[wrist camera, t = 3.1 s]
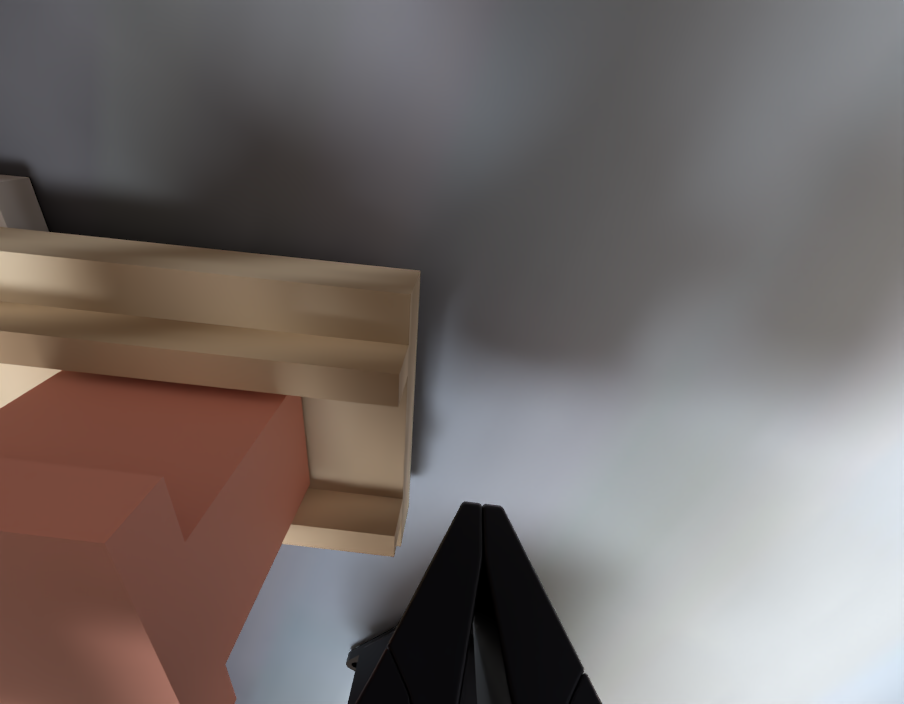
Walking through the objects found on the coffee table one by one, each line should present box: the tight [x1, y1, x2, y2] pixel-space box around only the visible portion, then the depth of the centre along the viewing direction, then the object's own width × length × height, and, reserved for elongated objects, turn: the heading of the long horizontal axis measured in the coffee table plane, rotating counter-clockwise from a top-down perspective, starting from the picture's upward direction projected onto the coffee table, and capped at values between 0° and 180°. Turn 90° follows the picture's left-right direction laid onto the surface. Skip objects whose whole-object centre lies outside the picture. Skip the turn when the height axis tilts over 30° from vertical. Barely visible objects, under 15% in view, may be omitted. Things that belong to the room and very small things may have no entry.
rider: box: [0, 370, 310, 704], centre depth 9 cm, size 5×6×5 cm
